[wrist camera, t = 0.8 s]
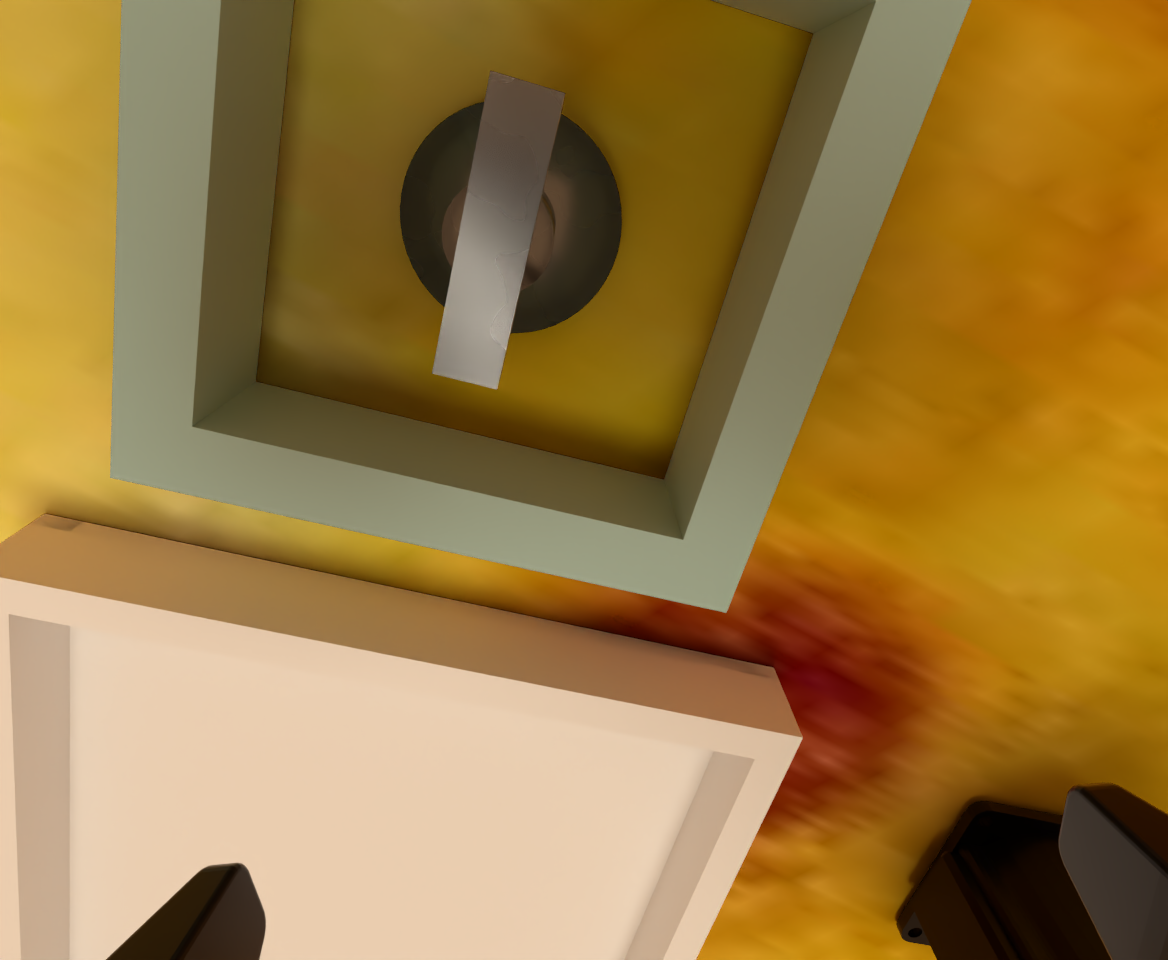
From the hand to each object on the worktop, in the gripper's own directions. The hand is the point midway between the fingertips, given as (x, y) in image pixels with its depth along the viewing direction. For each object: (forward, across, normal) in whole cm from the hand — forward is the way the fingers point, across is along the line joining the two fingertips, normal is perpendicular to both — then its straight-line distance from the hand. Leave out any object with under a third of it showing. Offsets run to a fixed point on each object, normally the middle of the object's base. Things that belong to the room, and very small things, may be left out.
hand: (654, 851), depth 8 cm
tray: (+13, +9, +14) cm, 21 cm away
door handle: (+12, +2, -6) cm, 14 cm away
